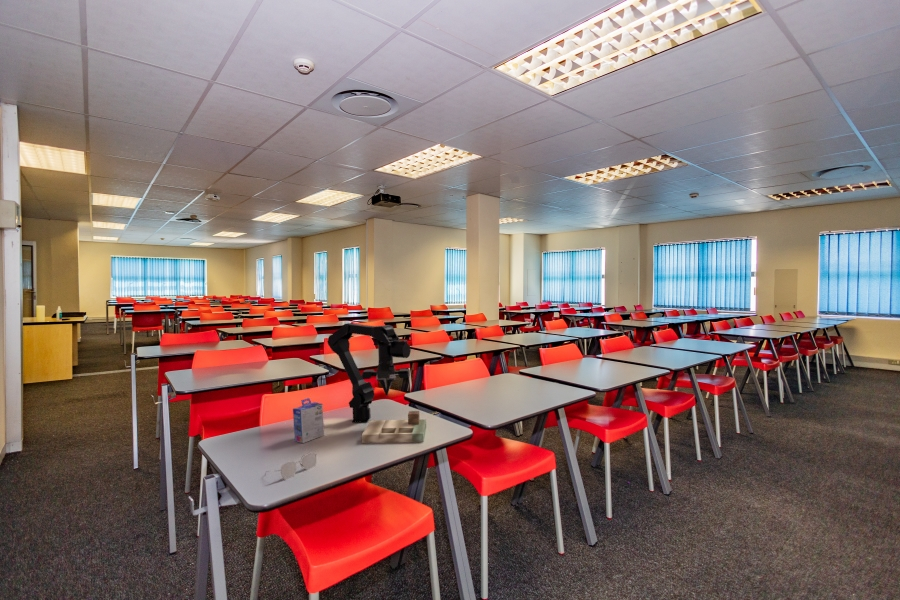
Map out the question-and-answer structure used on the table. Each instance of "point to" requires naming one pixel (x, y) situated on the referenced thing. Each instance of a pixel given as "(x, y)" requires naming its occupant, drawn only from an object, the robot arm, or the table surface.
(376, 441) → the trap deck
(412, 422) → the walnut block
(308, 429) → the ink cartridge box
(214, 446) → the table surface
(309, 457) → the sunglasses
